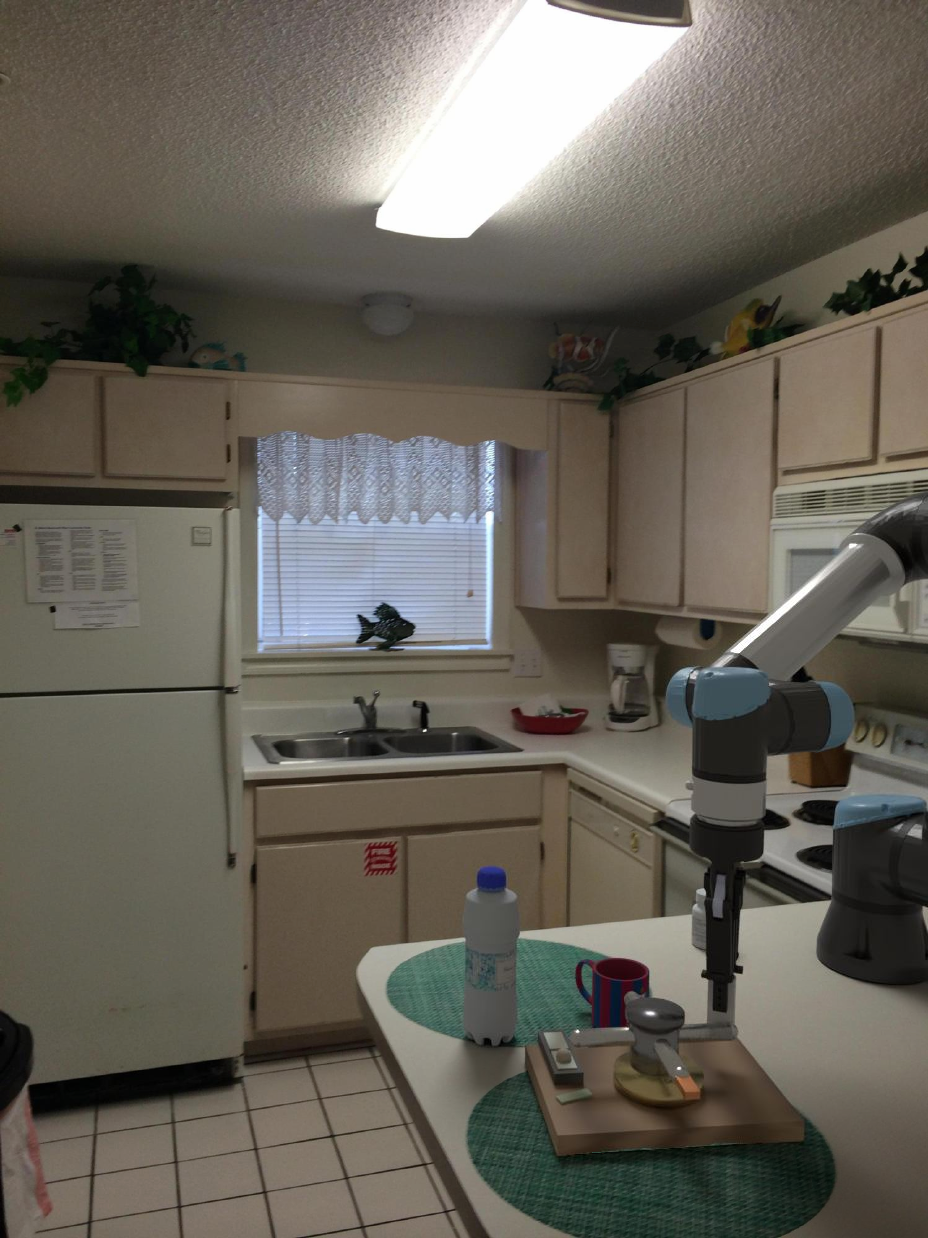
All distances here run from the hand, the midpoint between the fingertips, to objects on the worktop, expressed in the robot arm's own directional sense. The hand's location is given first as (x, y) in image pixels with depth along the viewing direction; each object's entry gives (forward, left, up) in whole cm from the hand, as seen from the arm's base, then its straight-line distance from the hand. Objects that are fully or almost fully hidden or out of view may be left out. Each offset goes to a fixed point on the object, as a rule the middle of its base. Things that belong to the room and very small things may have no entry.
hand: (720, 1036), depth 104 cm
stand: (+8, +2, -5) cm, 10 cm away
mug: (+8, -15, -5) cm, 18 cm away
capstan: (+8, +3, -3) cm, 9 cm away
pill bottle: (-12, -36, -5) cm, 38 cm away
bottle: (+23, -12, -5) cm, 26 cm away
